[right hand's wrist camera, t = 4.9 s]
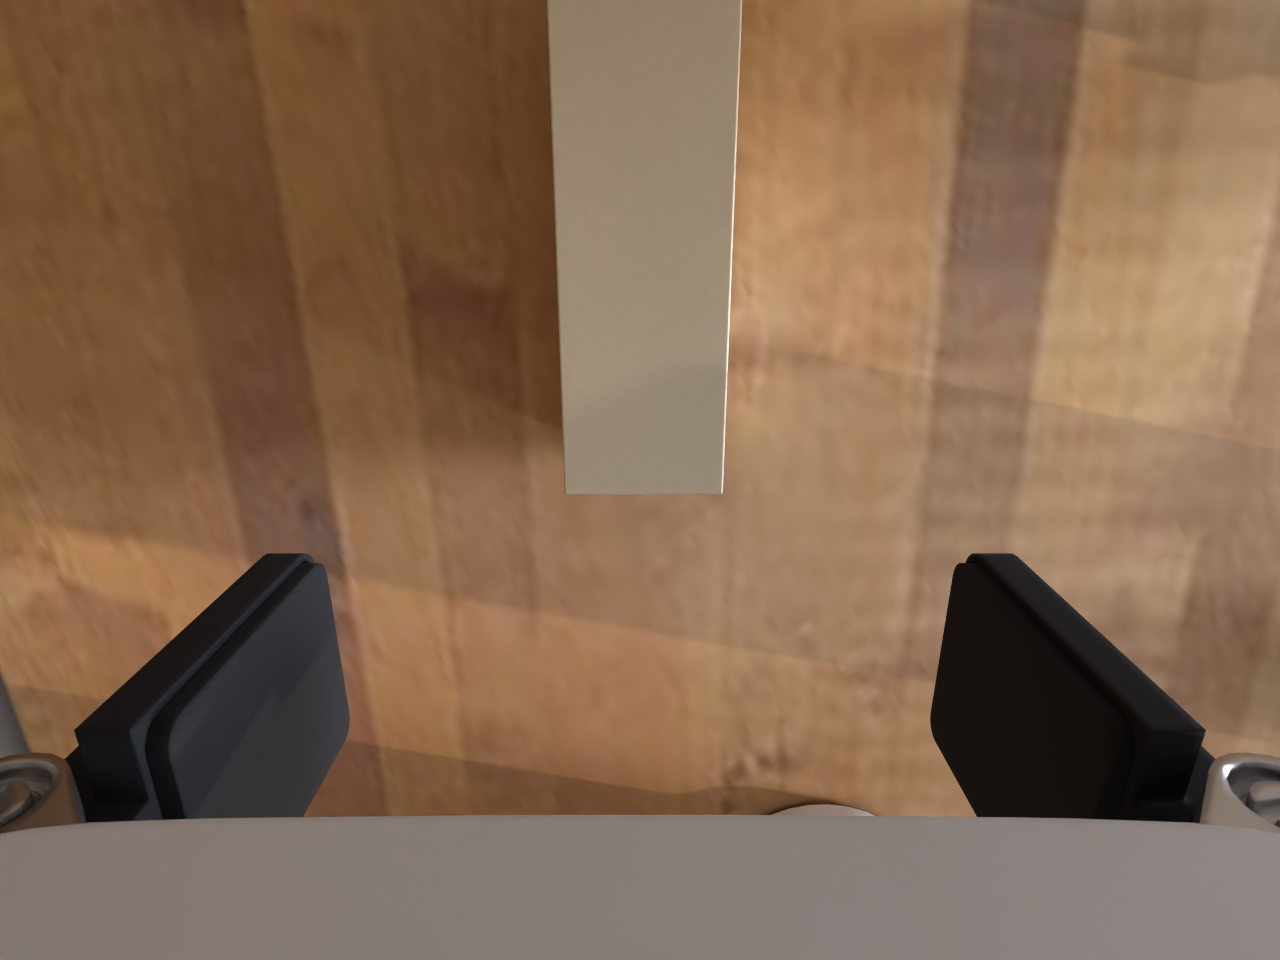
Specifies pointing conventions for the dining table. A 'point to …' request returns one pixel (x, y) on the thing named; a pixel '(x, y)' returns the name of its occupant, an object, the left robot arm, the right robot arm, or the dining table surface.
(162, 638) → the dining table surface
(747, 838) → the right robot arm
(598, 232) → the cabinet
